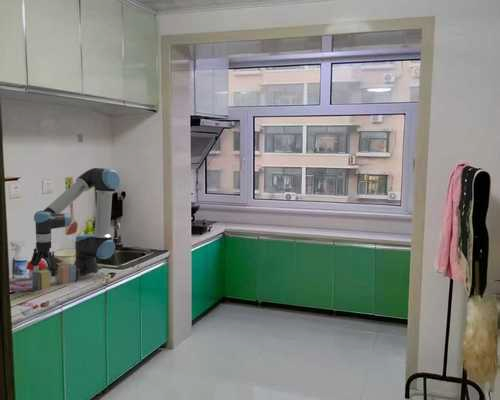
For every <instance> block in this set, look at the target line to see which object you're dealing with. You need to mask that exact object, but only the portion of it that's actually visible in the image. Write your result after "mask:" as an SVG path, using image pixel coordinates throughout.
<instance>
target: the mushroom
mask: <svg viewBox="0 0 500 400" xmlns="http://www.w3.org/2000/svg"><path fill="white" fill-rule="evenodd" d="M33 262H34V261H33ZM25 263H26V264H27V265H26V270H28V276H29V279H30V280H31V279H32V272H34V271H33V270H34V269H33V265H32V264H30V263H31V260H30V259H28V260H26V262H25ZM37 266H39V271H43V270H46V268H47V267H48V265H47V262H46V261H45V260H44V259H41V260H40V262H39V264H38V265H37Z"/></svg>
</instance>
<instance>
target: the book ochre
mask: <svg viewBox="0 0 500 400" xmlns="http://www.w3.org/2000/svg"><path fill="white" fill-rule="evenodd" d="M49 271H50V270H48V269H43V271H38V272H37V273H40V290H45V289H49V288H51V283H50V280H49Z"/></svg>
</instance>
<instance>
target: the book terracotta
mask: <svg viewBox="0 0 500 400" xmlns="http://www.w3.org/2000/svg"><path fill="white" fill-rule="evenodd" d="M57 283H58V284H61V285H65V284H70V283H71V282H70V267H67V266H64V265H60V266H58V269H57Z"/></svg>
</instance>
